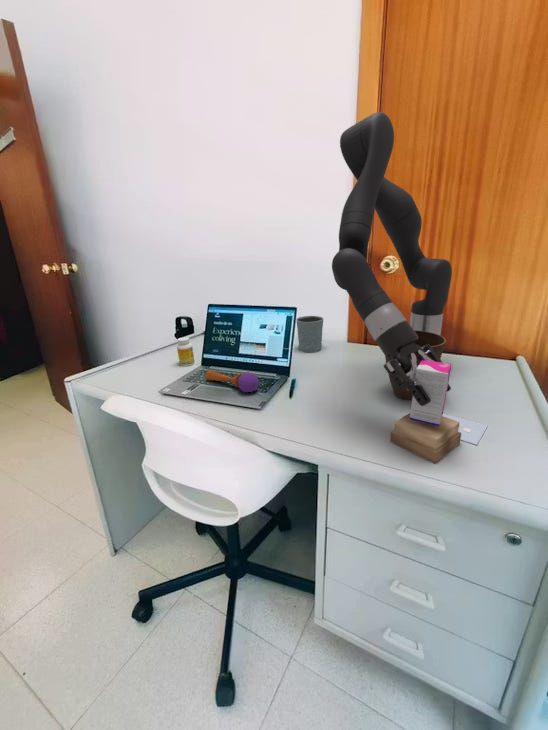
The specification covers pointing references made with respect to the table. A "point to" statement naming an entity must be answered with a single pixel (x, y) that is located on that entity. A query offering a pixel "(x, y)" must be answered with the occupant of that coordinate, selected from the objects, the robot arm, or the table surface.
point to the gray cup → (310, 333)
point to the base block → (426, 437)
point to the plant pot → (423, 339)
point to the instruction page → (469, 430)
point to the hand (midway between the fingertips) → (436, 397)
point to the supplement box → (431, 391)
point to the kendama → (236, 380)
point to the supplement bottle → (185, 352)
